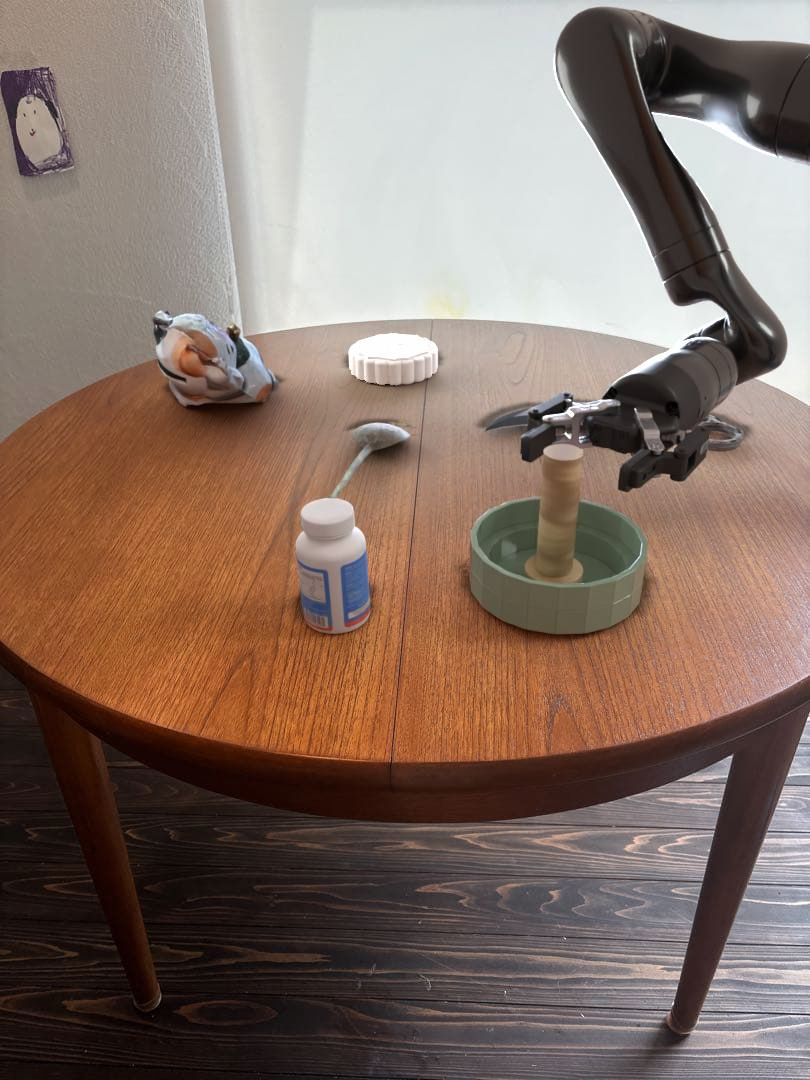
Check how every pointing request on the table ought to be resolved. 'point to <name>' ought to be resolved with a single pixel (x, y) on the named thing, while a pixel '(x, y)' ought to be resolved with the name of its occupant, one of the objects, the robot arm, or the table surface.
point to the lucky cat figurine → (209, 361)
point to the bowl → (597, 603)
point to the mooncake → (393, 359)
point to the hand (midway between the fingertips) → (572, 465)
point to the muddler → (558, 517)
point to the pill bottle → (332, 567)
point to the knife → (522, 419)
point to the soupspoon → (370, 446)
